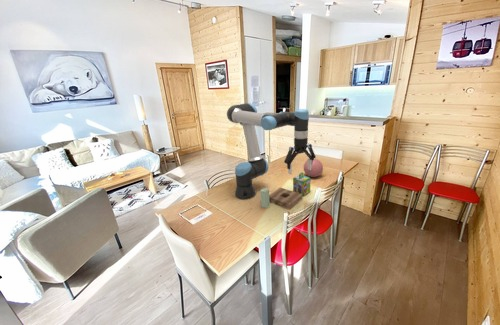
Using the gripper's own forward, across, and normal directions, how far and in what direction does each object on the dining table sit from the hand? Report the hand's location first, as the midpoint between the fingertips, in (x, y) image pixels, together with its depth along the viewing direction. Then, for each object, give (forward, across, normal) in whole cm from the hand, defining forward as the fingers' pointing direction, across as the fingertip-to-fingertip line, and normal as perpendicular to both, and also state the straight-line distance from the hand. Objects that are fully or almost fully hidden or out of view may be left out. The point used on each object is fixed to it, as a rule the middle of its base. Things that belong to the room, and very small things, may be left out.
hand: (299, 171), depth 127 cm
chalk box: (+25, +12, +15) cm, 32 cm away
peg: (+25, -19, +10) cm, 33 cm away
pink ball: (+25, +38, +35) cm, 58 cm away
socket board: (+25, -4, +11) cm, 28 cm away
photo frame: (+26, -63, +22) cm, 72 cm away
